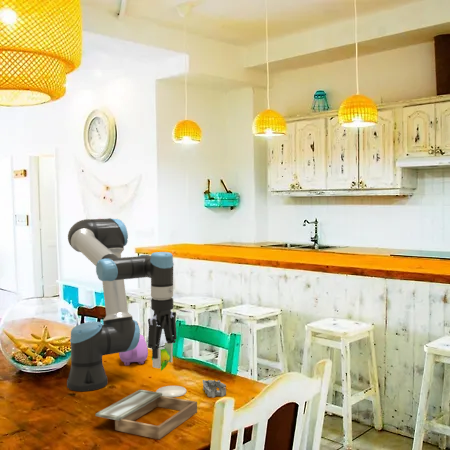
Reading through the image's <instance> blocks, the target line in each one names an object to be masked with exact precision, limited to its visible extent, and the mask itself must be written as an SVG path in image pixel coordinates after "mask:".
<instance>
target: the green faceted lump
mask: <svg viewBox="0 0 450 450" xmlns="http://www.w3.org/2000/svg"><path fill="white" fill-rule="evenodd" d="M160 349H161V368H160V372H162V371H163V370H164V369H165V368H166V367H167V366H168V363H170V362H169V360H170V356H169V354H168V352H167V351H166V349H165V348H160ZM151 361H153V358H152V357H151Z"/></svg>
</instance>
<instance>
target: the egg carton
mask: <svg viewBox="0 0 450 450" xmlns="http://www.w3.org/2000/svg"><path fill="white" fill-rule="evenodd" d="M202 384H203V385H202V387H203V388H202V389H203V391H204V390H205V394H207V396H206V397H208V398H216V397H224V396H226V395H227V389H226V388H227V385H226V383H223V382H221V380H216V379H214V380H212V379H210V380H209V379H207V380H205V379H202ZM217 388H218V389H219V390H218V389H217Z"/></svg>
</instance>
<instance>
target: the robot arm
mask: <svg viewBox="0 0 450 450" xmlns="http://www.w3.org/2000/svg"><path fill="white" fill-rule="evenodd" d="M128 239H129V233H128V230H127V227H126V225H125V223H124V222H123V221H122V220H121V219H118V218H111V217H110V218H95V219H94V218H92V219H89V218H86V219H82V220H79V221H77V222H75V223H74V224H73V225H72V226H71V227H70V228H69V231H68V234H67V241H68V244H69V246H70V247H71V248H72V249H73V250H74V251H75V252H78V253H82V255H83V256H85V258H86V259H88V261H90V262H91V263H92V265H94V266H95V273H96V276H97V279H98V280H99V281H101V282H102V289H103V291H102V292H103V297H104V307H105V317H104V318H103V320H102V322H100V321H88V322H84V323H80V324H77V325H76V326H74V327H73V328H72V329H71V331H70V339H69V340H70V341H69V342H70V359H71V360H70V362H71V365H70V368H69V369H70V370H69V372H68V376H67V377H68V378H67V380H66V388H67V389H68V388H69V389H68V390H71V391H75V392H90V391H94V390H99V389H102V388H104V387H106V386H107V385H108V376H107V374H106V370H105V368H104V364H103V356H107V355H108V356H109V355H113V354H114V355H115V354H119V353H120V352H126V351H130V350H133V349H135V348H136V347H137V345H138V342H139V339H140V334H141V329H140V328H141V327H140V325H139V323H138V321H136V320H135V319H133V315H132V314H130V312H129V310H128V302H127V294H126V286H125V285H126V284H125V280H131V279H142V278H149V279H150V297H151V299H150V303H151V304H150V306H151V307H150V308H151V310H152V312H153V315H152V316H153V317H152V318H150V317H149V318H148V319H147V323H148V331H147V332H148V333H147V336H148V337H147V338H148V339H147V349H151V359H152V358H153V360H152V368H155V369H161V349H162V348H160V344H161V337H162V333H164V337H165V343H164V349H166V351H167V352H168V354H169V356H170V360H169V362H168V363H173V362H174V361H173V348H174V344H175V343H176V340H177V322H176V318H177V312H176V311H172V310H173V309H174V298H173V297H174V265H175V264H174V257H173V254H172V252H168V251H159V252H158V251H156V252H155V251H154V252H152V253H151V255H150V254H141V255H140V254H139V255H138V256H127V257H126V256H125V257H122V253H123V252H124V250H125V246H127V244H128V242H129V241H128ZM102 323H103V324H102Z"/></svg>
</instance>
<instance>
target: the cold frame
mask: <svg viewBox="0 0 450 450" xmlns="http://www.w3.org/2000/svg"><path fill="white" fill-rule="evenodd" d="M157 407H158V408H163V409H171V410H176V411H178V412H176V413H175V414H173V415H172V416H171V417H169V418H167V419H165V420H164V421H163V422H162V423H160V424H158V425H154V424H150V423H144V422H141V421H140V422H139V421H136V420H138V419H140V418H141V417H142V416H144V415H146V414H148V413H149V412H151V411H152V410H153V409H155V408H157ZM196 413H198V402H197V401H194V400H188V399H182V398H177V397H172V398H171V397H165V396H162V393H159V392H156V391H151V390H147V389H138V390H136V391H135V392H133V393H131V394H129V395H127V396H126V397H123V398H122V399H120V400H118V401H116V402H114V403H112V404H111V405H109V406H107V407H105V408H103V409H101V410H99V411H98V412H96V413H95V417H99V418H103V419H108V420H109V419H110V420H114V430H115V431H118V432H122V433H126V434H131V435H136V436H141V437H146V438H151V439H155V440H161V439H163V438H164V437H165V436H167V434H169V433H171V432H172V431H173V430H175V429H176V428H178V427H179V426H180V425H181V424H183V423H184V422H186V421H187V420H189V419H190V418H191V417H193V416H194V415H195V414H196Z"/></svg>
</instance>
